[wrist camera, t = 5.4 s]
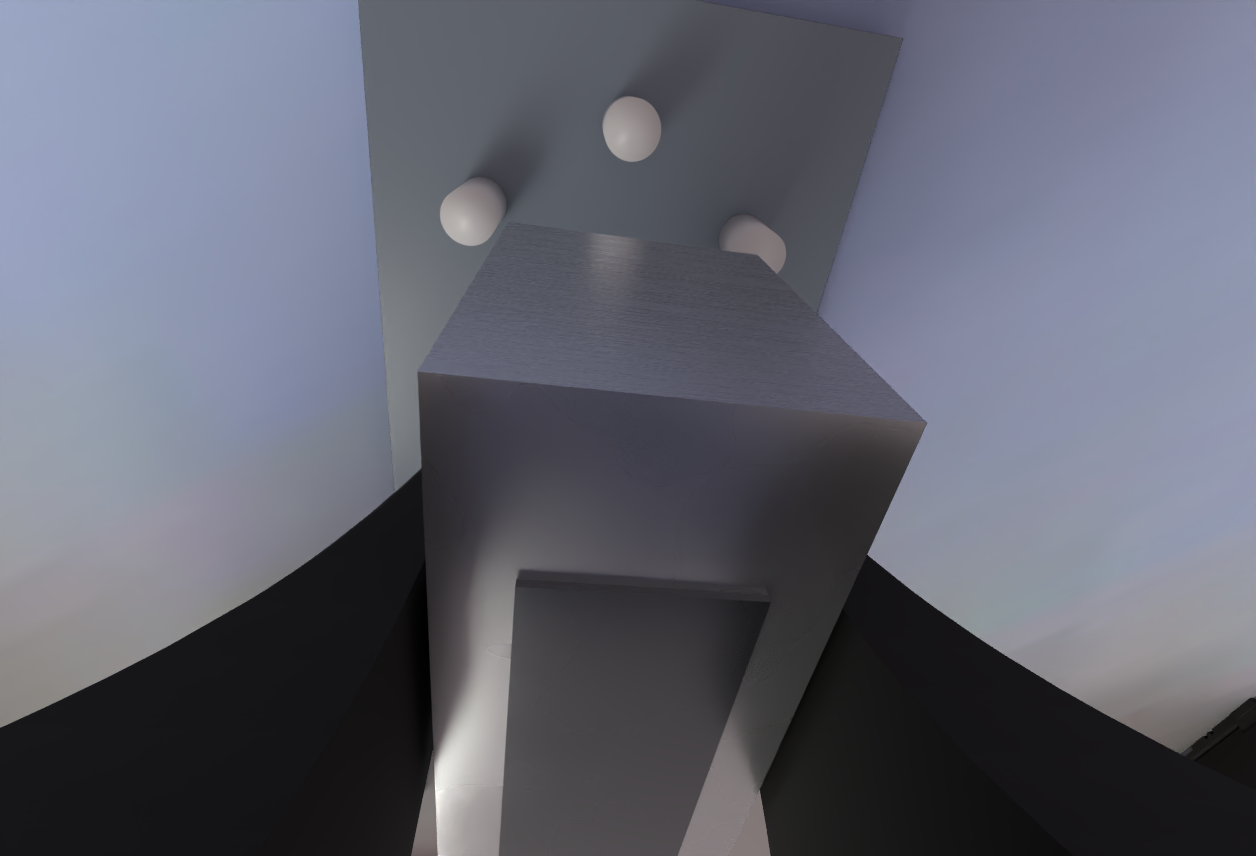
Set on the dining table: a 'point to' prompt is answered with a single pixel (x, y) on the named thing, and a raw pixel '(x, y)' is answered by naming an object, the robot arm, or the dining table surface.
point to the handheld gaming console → (1230, 746)
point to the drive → (635, 538)
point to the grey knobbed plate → (601, 143)
